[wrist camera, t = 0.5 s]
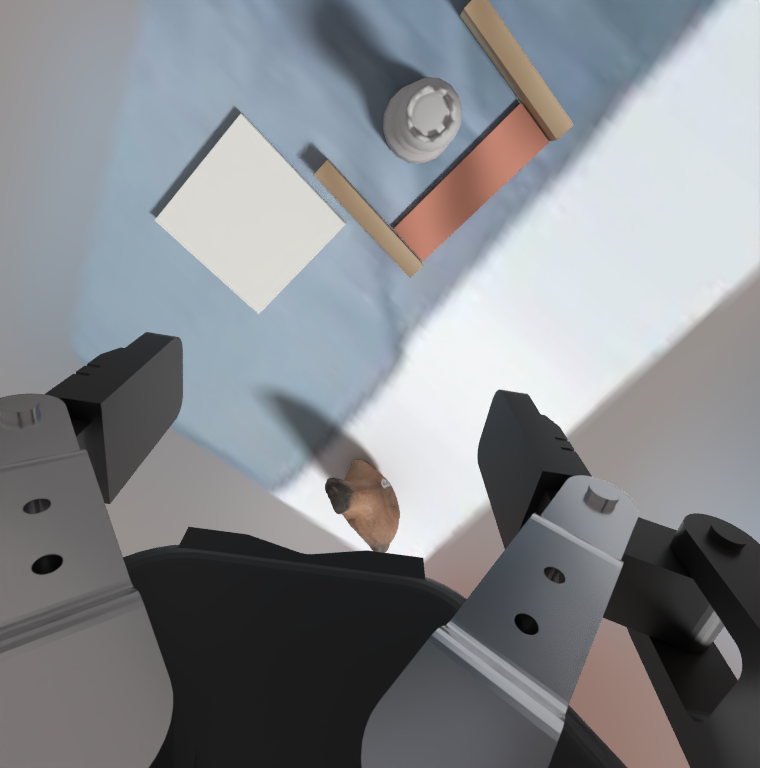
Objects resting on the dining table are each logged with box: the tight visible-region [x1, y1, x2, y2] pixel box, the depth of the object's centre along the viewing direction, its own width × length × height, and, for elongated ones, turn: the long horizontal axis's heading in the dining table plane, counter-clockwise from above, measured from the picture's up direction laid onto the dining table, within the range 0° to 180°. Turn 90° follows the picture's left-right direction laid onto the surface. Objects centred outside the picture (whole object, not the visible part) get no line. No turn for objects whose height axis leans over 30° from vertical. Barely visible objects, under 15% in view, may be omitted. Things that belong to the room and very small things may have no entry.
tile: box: [155, 114, 346, 314], centre depth 32 cm, size 9×9×1 cm
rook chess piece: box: [383, 77, 462, 164], centre depth 27 cm, size 4×4×8 cm
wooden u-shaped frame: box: [314, 0, 574, 278], centre depth 30 cm, size 13×9×2 cm
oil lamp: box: [325, 460, 400, 553], centre depth 38 cm, size 9×4×8 cm, turn 32°
